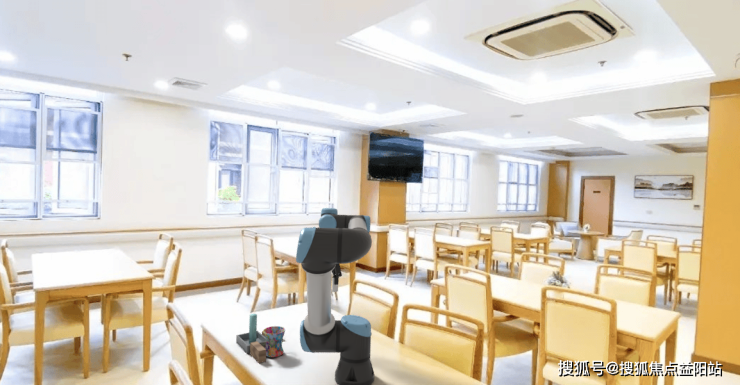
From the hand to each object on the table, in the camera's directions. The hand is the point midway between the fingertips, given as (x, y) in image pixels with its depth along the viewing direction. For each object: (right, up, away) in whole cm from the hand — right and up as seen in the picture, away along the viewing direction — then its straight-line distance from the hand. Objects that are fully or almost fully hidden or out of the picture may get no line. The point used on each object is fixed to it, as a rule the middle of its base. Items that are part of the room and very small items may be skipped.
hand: (327, 288), depth 176 cm
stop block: (-28, -26, -14) cm, 40 cm away
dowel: (-34, -25, -2) cm, 42 cm away
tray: (-34, -26, -2) cm, 42 cm away
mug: (-21, -26, -9) cm, 35 cm away
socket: (-27, -26, +7) cm, 38 cm away
